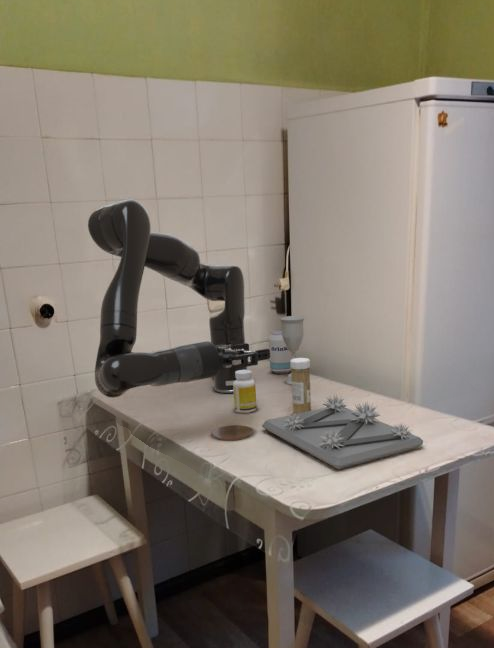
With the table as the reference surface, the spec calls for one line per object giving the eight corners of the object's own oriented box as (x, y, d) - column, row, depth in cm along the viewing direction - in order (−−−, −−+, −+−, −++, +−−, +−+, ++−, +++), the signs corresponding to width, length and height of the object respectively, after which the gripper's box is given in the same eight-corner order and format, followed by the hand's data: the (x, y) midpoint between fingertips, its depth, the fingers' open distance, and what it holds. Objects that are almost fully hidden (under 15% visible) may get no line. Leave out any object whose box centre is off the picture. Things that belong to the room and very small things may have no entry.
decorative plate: (260, 431, 143) (258, 400, 140) (339, 413, 152) (339, 384, 150) (336, 473, 118) (336, 436, 115) (426, 449, 127) (427, 414, 125)
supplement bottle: (261, 409, 158) (259, 370, 155) (245, 414, 155) (243, 375, 151) (245, 405, 162) (243, 367, 158) (230, 411, 158) (227, 372, 155)
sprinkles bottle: (315, 415, 152) (313, 359, 147) (299, 419, 149) (297, 362, 145) (303, 411, 155) (302, 356, 151) (288, 414, 153) (286, 359, 148)
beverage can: (268, 374, 191) (266, 334, 187) (272, 369, 197) (270, 330, 193) (291, 374, 190) (290, 334, 186) (294, 369, 196) (293, 329, 192)
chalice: (307, 384, 178) (305, 319, 172) (282, 385, 178) (279, 320, 172) (306, 378, 185) (304, 315, 179) (282, 379, 185) (279, 316, 179)
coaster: (207, 431, 144) (207, 429, 144) (244, 424, 147) (244, 422, 147) (220, 443, 136) (220, 441, 136) (259, 435, 140) (259, 433, 140)
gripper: (207, 349, 125) (275, 337, 134) (175, 340, 137) (240, 329, 145) (210, 386, 128) (277, 372, 136) (179, 374, 139) (242, 362, 148)
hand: (258, 350), depth 141 cm, fingers open, 8 cm apart
